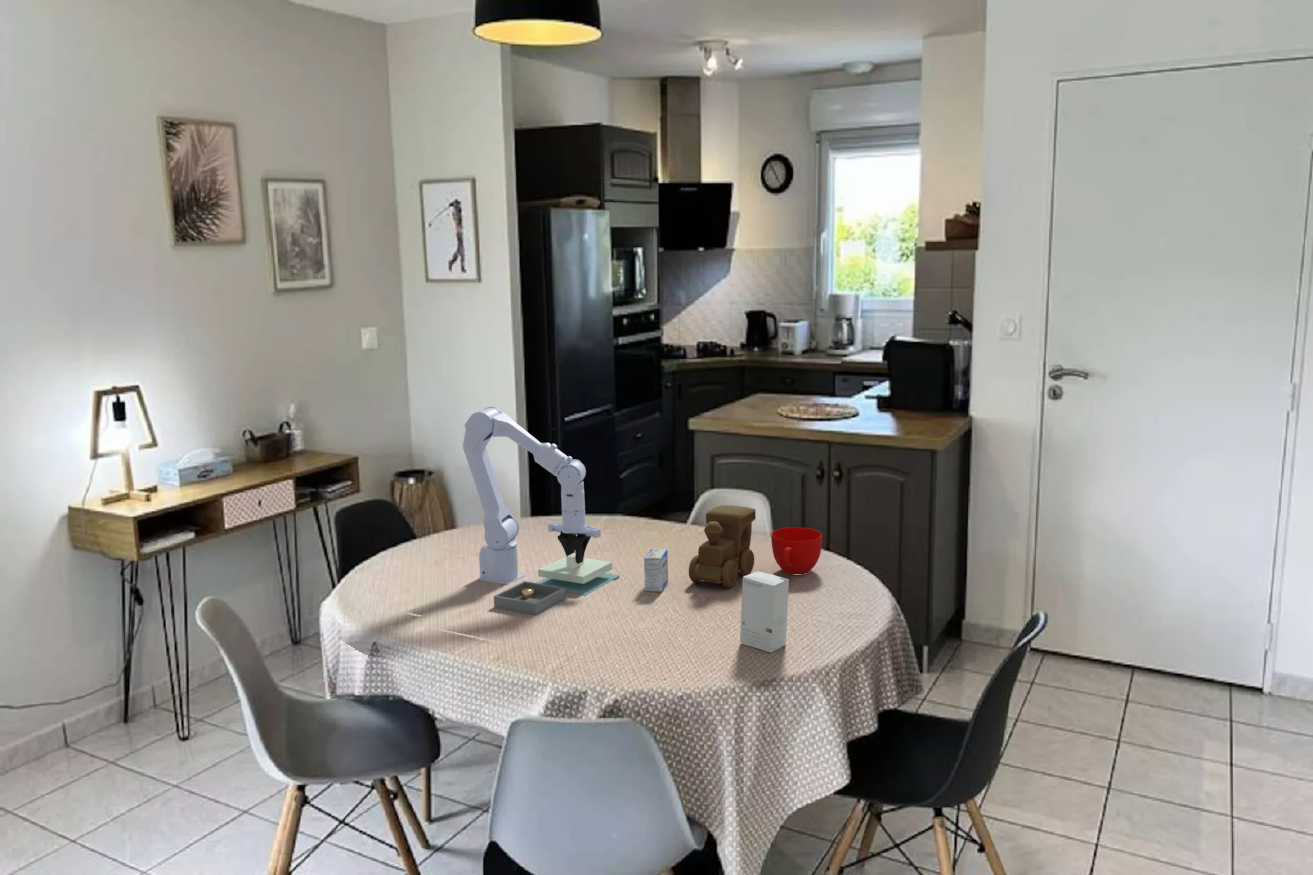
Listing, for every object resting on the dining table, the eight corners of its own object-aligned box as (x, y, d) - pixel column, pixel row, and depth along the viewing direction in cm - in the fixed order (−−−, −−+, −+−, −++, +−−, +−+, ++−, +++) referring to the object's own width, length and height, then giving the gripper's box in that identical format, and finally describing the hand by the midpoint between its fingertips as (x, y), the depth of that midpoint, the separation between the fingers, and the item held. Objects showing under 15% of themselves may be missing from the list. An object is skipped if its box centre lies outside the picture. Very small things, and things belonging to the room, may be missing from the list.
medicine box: (662, 592, 236) (661, 558, 235) (644, 591, 237) (643, 557, 236) (668, 582, 244) (667, 548, 242) (651, 581, 245) (650, 548, 243)
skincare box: (739, 644, 204) (739, 576, 201) (755, 635, 209) (755, 569, 206) (773, 654, 199) (773, 584, 196) (789, 645, 203) (789, 577, 200)
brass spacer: (519, 598, 233) (518, 590, 233) (526, 594, 235) (526, 587, 235) (529, 600, 231) (529, 592, 231) (536, 596, 234) (536, 588, 234)
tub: (494, 608, 228) (493, 596, 227) (525, 592, 238) (524, 581, 238) (535, 616, 222) (535, 604, 222) (565, 600, 232) (565, 588, 232)
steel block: (523, 607, 227) (523, 601, 227) (530, 603, 229) (529, 597, 229) (537, 610, 225) (537, 603, 225) (543, 606, 227) (543, 600, 227)
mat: (531, 587, 242) (531, 585, 242) (567, 568, 256) (567, 567, 256) (585, 596, 234) (585, 594, 234) (619, 577, 248) (619, 575, 248)
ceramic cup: (760, 581, 243) (760, 543, 241) (778, 561, 258) (778, 525, 257) (811, 587, 238) (812, 547, 236) (826, 566, 254) (827, 529, 252)
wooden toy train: (719, 564, 257) (719, 503, 254) (759, 570, 252) (759, 508, 249) (684, 586, 240) (683, 521, 237) (726, 593, 235) (726, 527, 232)
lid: (538, 576, 242) (537, 557, 241) (568, 562, 254) (568, 544, 253) (583, 583, 236) (582, 564, 235) (612, 569, 247) (611, 550, 246)
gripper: (540, 510, 242) (542, 562, 244) (589, 516, 235) (590, 570, 237) (556, 503, 248) (558, 554, 250) (604, 509, 241) (606, 562, 243)
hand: (575, 561), depth 244 cm, fingers closed on lid
